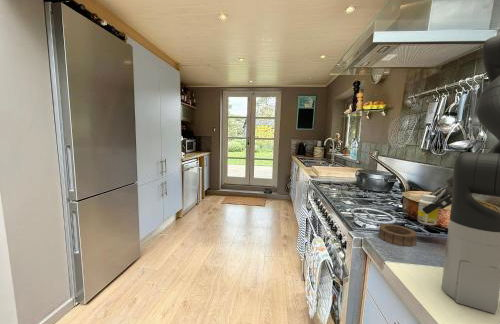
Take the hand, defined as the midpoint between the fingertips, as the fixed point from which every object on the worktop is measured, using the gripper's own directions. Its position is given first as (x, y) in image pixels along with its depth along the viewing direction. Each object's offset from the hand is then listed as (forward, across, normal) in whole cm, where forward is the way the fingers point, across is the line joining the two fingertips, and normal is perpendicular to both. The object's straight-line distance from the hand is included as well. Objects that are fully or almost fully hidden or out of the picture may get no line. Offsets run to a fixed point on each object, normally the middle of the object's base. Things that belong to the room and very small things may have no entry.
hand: (421, 209), depth 82 cm
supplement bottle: (+2, 0, +5) cm, 5 cm away
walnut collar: (+13, +5, +2) cm, 14 cm away
